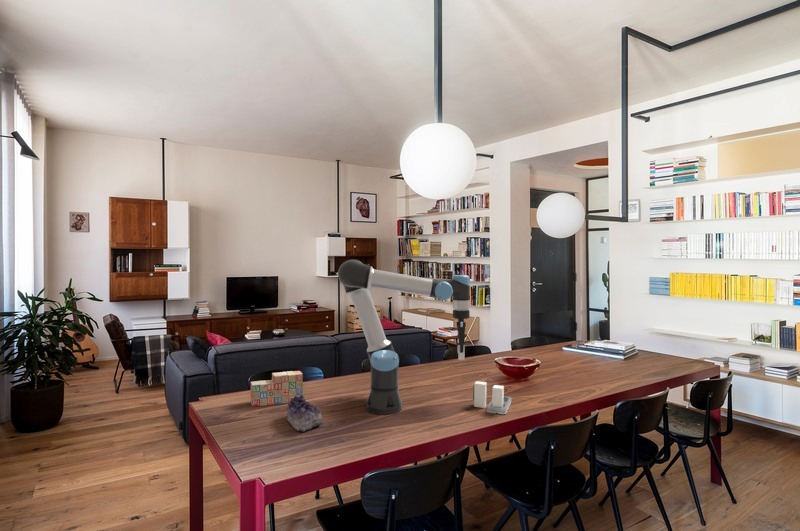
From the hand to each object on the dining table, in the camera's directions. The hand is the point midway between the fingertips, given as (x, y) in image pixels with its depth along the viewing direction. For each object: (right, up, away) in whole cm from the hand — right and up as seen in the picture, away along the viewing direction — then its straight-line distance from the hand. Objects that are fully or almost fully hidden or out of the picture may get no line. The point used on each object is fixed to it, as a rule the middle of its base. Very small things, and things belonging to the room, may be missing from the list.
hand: (460, 356), depth 213 cm
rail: (+15, -20, -10) cm, 27 cm away
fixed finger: (+14, -20, -15) cm, 28 cm away
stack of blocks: (-81, -19, -7) cm, 84 cm away
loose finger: (+7, -20, -9) cm, 23 cm away
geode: (-65, -20, -32) cm, 76 cm away
